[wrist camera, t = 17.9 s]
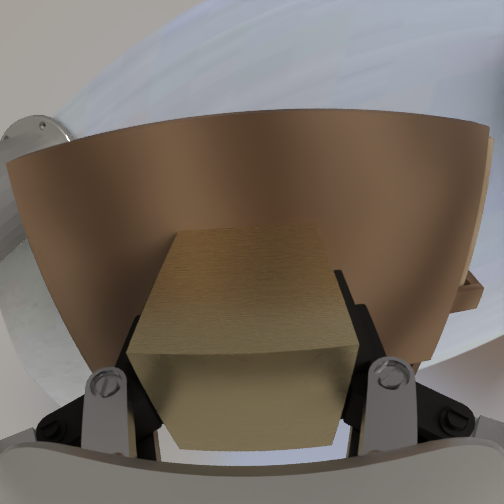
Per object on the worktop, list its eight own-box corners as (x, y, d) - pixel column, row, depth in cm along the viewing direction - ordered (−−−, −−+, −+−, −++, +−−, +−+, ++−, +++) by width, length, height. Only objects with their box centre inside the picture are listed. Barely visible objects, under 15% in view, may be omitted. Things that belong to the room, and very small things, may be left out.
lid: (102, 355, 18) (63, 458, 11) (27, 153, 11) (-96, 225, 5) (420, 340, 17) (466, 443, 10) (466, 119, 10) (602, 177, 4)
